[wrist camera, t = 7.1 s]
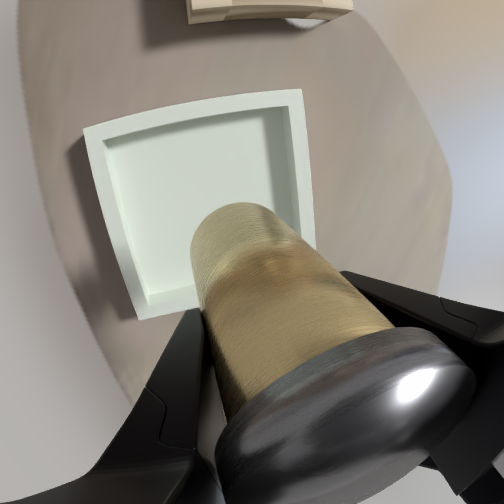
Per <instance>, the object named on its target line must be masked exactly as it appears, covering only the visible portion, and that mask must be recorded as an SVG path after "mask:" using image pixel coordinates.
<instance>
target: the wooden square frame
mask: <svg viewBox="0 0 504 504" xmlns="http://www.w3.org/2000/svg"><path fill="white" fill-rule="evenodd" d="M185 2H186V9H187V17H188V24H189V25H190V24H197V23H205V22H214V21H225V20H238V19H259V18H301V19H302V18H303V19H321V20H334V19H336V18H338V17H340V16H342V15H344V14H347V13H349V12H351V11H354V8H353V3H352V0H185Z"/></svg>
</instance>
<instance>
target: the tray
mask: <svg viewBox="0 0 504 504" xmlns="http://www.w3.org/2000/svg"><path fill="white" fill-rule="evenodd" d="M83 132H84V137H85V142H86V147H87V152H88V156H89V161H90V165H91V170H92V174H93V178H94V182H95V186H96V190H97V194H98V198H99V201H100V205H101V209H102V212H103V216H104V219H105V223H106V226H107V230H108V233H109V236H110V239H111V243H112V246H113V249H114V252H115V255H116V258H117V261H118V264H119V267H120V270H121V273H122V276H123V279H124V282H125V284H126V287H127V290H128V293H129V295H130V298H131V301H132V303H133V306H134V309H135V311H136V314H137V316H138V319H139V320H143V319H148V318H152V317H157V316H161V315H166V314H170V313H174V312H178V311H183V310H187V309H191V308H195V307H200V306H199V301H198V296H197V291H196V286H195V281H194V276H193V271H192V266H191V260H190V246H191V241H192V238H193V235H194V233H195V231H196V229H197V228H198V226H199V225H200V223H201V222H202V221H203V220H204V219H205V218H206V217H207V216H208V215H209V214H211V213H212V212H213V211H215V210H217V209H218V208H220V207H222V206H225V205H228V204H232V203H238V202H250V203H256V204H259V205H262V206H264V207H266V208H268V209H270V210H271V211H272V212H274V213H275V214H276V215H277V216H278V217H279V218H280V219H282V220H283V221H284V222H285V223H286V224H287V225H288V226H289V227H290V228H292V229H293V230H294V231H295V232H296V233H297V234H298V235H299V236H300V237H301V238H303V239H304V240H305V241H306V242H307V243H308V244H309V245H310V246H311V247H312V248H313V249H315V250H316V245H315V227H314V211H313V197H312V184H311V172H310V161H309V150H308V140H307V130H306V121H305V112H304V104H303V96H302V89H290V90H277V91H266V92H256V93H247V94H239V95H231V96H224V97H218V98H211V99H205V100H199V101H193V102H188V103H183V104H178V105H173V106H168V107H163V108H158V109H154V110H150V111H145V112H141V113H137V114H133V115H129V116H125V117H122V118H118V119H114V120H111V121H107V122H104V123H100V124H97V125H94V126H90V127H87V128H84V129H83Z"/></svg>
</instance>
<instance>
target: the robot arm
mask: <svg viewBox="0 0 504 504" xmlns="http://www.w3.org/2000/svg"><path fill="white" fill-rule="evenodd" d="M339 273H340V274H341V275H342V276H343V277H344V278H345V279H347V280H348V281H349V282H350V283H351V284H352V285H353V286H354V287H355V288H356V289H357V290H358V291H359V292H360V293H361V294H362V295H363V296H364V297H365V298H366V299H367V300H368V301H369V302H370V303H371V304H372V305H373V306H375V307H376V308H377V309H378V310H379V311H380V312H381V313H382V314H383V315H384V316H385V317H386V318H387V319H388V320H389V321H390V322H391V323H392V324H393V325H394V326H395V327H396V328H397V327H415V328H422V329H425V330H427V331H430V332H432V333H433V334H434V335H436V336H437V337H438V338H439V339H440V340H441V341H442V342H443V343H444V344H446V345H447V346H448V347H449V348H450V349H451V350H452V351H453V352H454V353H455V354H456V355H457V356H458V357H459V358H460V359H461V360H462V361H463V362H464V363H466V364H467V365H468V366H469V367H470V368H471V369H472V370H473V372H474V373H475V375H476V389H475V393H474V396H473V399H472V401H471V403H470V405H469V407H468V409H467V411H466V413H465V414H464V416H463V417H462V419H461V420H460V422H459V423H458V425H457V426H456V427H455V429H454V430H453V431H452V432H451V434H450V435H449V436H448V437H447V438H446V439H445V440H444V442H443V443H442V444H441V445H440V446H439V447H438V448H437V449H436V450H435V451H434V452H433V453H432V454H431V455H429V456H428V457H427V458H426V459H425V460H424V461H423V462H421V463H420V464H419V465H418V466H422V467H426V468H431V469H434V470H438V471H440V472H441V474H442V475H443V476H444V478H445V479H446V481H447V482H448V484H449V486H450V487H451V489H452V490H453V492H454V493H455V494H456V496H457V495H460V496H461V497H462V498H463V500H464V501H465V502H466V503H467V504H504V312H501V311H497V310H492V309H486V308H482V307H477V306H473V305H468V304H464V303H460V302H457V301H453V300H449V299H445V298H442V297H440V298H439V297H438V296H435V295H431V294H428V293H424V292H420V291H417V290H413V289H410V288H406V287H403V286H399V285H395V284H392V283H388V282H385V281H381V280H377V279H374V278H370V277H367V276H363V275H359V274H356V273H352V272H349V271H341V272H339ZM224 428H225V426H224V419H223V411H222V404H221V397H220V393H219V389H218V385H217V381H216V377H215V373H214V368H213V364H212V360H211V356H210V351H209V346H208V341H207V336H206V332H205V327H204V323H203V318H202V314H201V310H200V309H199V308H195V309H190V310H186V311H185V313H184V315H183V316H182V318H181V320H180V322H179V324H178V326H177V327H176V329H175V331H174V333H173V335H172V337H171V338H170V340H169V342H168V344H167V346H166V348H165V350H164V352H163V353H162V355H161V357H160V359H159V361H158V363H157V365H156V367H155V368H154V370H153V372H152V374H151V376H150V378H149V380H148V382H147V384H146V386H145V388H144V389H143V391H142V393H141V395H140V397H139V399H138V400H137V402H136V404H135V406H134V408H133V409H132V411H131V413H130V414H129V416H128V417H127V419H126V420H125V422H124V424H123V425H122V427H121V428H120V430H119V431H118V432H117V434H116V435H115V437H114V438H113V440H112V441H111V443H110V444H109V446H108V447H107V448H106V450H105V451H104V453H103V454H102V456H101V457H100V459H99V460H98V461H97V463H96V464H95V465H94V467H93V468H92V469H91V470H90V471H89V472H88V473H86V474H85V475H84V476H82V477H80V478H78V479H76V480H74V481H71V482H69V483H66V484H63V485H61V486H58V487H55V488H53V489H50V490H47V491H44V492H41V493H38V494H35V495H32V496H29V497H26V498H23V499H20V500H16V501H11V502H5V503H0V504H225V500H224V496H223V493H222V489H221V485H220V481H219V477H218V473H217V469H216V464H215V460H214V451H215V447H216V444H217V440H218V438H219V436H220V435H221V433H222V431H223V429H224Z"/></svg>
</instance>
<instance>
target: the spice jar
mask: <svg viewBox="0 0 504 504" xmlns="http://www.w3.org/2000/svg"><path fill="white" fill-rule="evenodd" d="M190 260H191V266H192V271H193V276H194V281H195V286H196V291H197V296H198V301H199V306H200V310H201V314H202V318H203V323H204V327H205V332H206V336H207V341H208V346H209V351H210V356H211V360H212V364H213V368H214V373H215V377H216V381H217V385H218V389H219V393H220V397H221V401H222V405H223V408H224V412H225V416H226V420H227V423H228V424H227V425H226V427H225V428H224V429H223V431H222V433H221V435H220V436H219V438H218V440H217V444H216V447H215V451H214V460H215V464H216V469H217V473H218V477H219V481H220V485H221V489H222V493H223V496H224V500H225V504H357V503H359V502H361V501H363V500H365V499H367V498H369V497H371V496H373V495H375V494H377V493H378V492H380V491H382V490H384V489H385V488H387V487H388V486H390V485H392V484H393V483H395V482H396V481H398V480H399V479H401V478H402V477H403V476H405V475H406V474H407V473H409V472H410V471H411V470H413V469H414V468H415V467H417V466H418V465H419V464H420V463H421V462H423V461H424V460H425V459H426V458H427V457H428V456H429V455H431V454H432V453H433V452H434V451H435V450H436V449H437V448H438V447H439V446H440V445H441V444H442V443H443V442H444V440H445V439H446V438H447V437H448V436H449V435H450V434H451V432H452V431H453V430H454V429H455V427H456V426H457V425H458V423H459V422H460V420H461V419H462V417H463V416H464V414H465V413H466V411H467V409H468V407H469V405H470V403H471V401H472V399H473V396H474V393H475V389H476V375H475V373H474V372H473V370H472V369H471V368H470V367H469V366H468V365H467V364H466V363H464V362H463V361H462V360H461V359H460V358H459V357H458V356H457V355H456V354H455V353H454V352H453V351H452V350H451V349H450V348H449V347H448V346H447V345H446V344H444V343H443V342H442V341H441V340H440V339H439V338H438V337H437V336H436V335H434V334H433V333H432V332H430V331H427V330H425V329H422V328H415V327H397V328H396V327H395V326H394V325H393V324H392V323H391V322H390V321H389V320H388V319H387V318H386V317H385V316H384V315H383V314H382V313H381V312H380V311H379V310H378V309H377V308H376V307H375V306H373V305H372V304H371V303H370V302H369V301H368V300H367V299H366V298H365V297H364V296H363V295H362V294H361V293H360V292H359V291H358V290H357V289H356V288H355V287H354V286H353V285H352V284H351V283H350V282H349V281H348V280H347V279H345V278H344V277H343V276H342V275H341V274H340V273H339V272H338V271H337V270H336V269H335V268H334V267H333V266H332V265H331V264H330V263H328V262H327V261H326V260H325V259H324V258H323V257H322V256H321V255H320V254H319V253H318V252H317V251H316V250H315V249H313V248H312V247H311V246H310V245H309V244H308V243H307V242H306V241H305V240H304V239H303V238H301V237H300V236H299V235H298V234H297V233H296V232H295V231H294V230H293V229H292V228H290V227H289V226H288V225H287V224H286V223H285V222H284V221H283V220H282V219H280V218H279V217H278V216H277V215H276V214H275V213H274V212H272V211H271V210H270V209H268V208H266V207H264V206H262V205H259V204H256V203H250V202H238V203H232V204H228V205H225V206H222V207H220V208H218V209H217V210H215V211H213V212H212V213H211V214H209V215H208V216H207V217H206V218H205V219H204V220H203V221H202V222H201V223H200V225H199V226H198V228H197V229H196V231H195V233H194V235H193V238H192V241H191V246H190Z"/></svg>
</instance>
